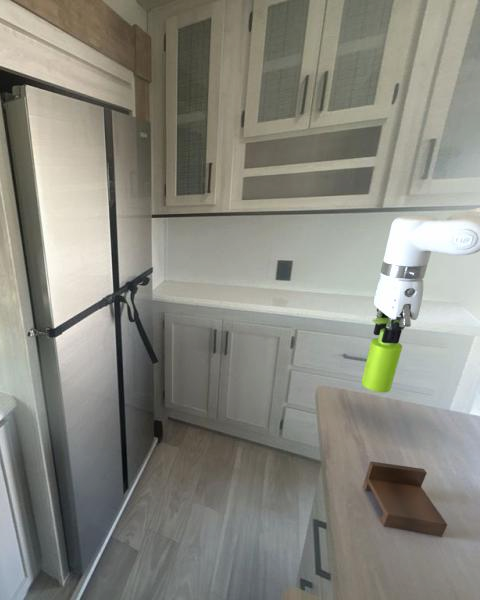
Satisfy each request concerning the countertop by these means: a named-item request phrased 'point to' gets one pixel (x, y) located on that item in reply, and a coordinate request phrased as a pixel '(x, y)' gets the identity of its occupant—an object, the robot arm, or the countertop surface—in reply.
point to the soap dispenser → (381, 362)
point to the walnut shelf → (403, 498)
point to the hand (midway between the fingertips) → (385, 338)
